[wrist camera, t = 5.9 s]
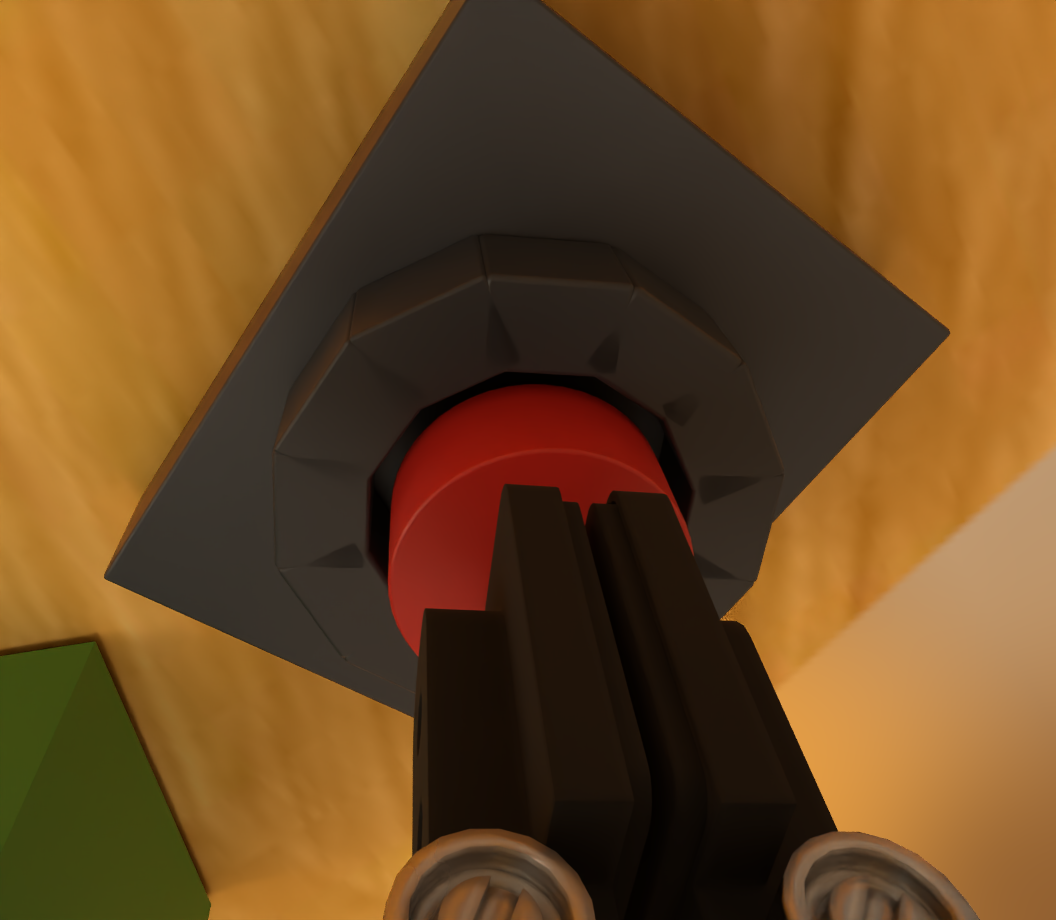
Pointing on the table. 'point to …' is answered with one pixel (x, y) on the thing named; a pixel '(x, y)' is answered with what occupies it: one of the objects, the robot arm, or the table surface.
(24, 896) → the hardback book
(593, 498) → the power button
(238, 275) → the table surface
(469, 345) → the power block
